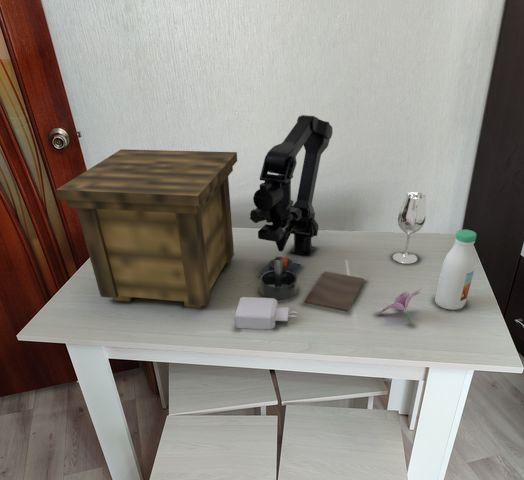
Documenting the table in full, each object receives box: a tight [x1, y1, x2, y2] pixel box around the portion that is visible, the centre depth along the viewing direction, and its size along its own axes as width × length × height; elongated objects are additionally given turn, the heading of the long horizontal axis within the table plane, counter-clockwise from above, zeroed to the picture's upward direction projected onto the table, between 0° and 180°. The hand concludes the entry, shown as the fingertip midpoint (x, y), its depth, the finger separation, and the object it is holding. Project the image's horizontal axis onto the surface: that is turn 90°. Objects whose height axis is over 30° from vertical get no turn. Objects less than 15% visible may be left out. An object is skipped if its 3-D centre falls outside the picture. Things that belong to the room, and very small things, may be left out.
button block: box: [260, 258, 301, 276], centre depth 142 cm, size 10×9×3 cm
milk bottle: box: [434, 229, 477, 311], centre depth 120 cm, size 8×8×20 cm
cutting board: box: [303, 271, 366, 313], centre depth 132 cm, size 18×12×1 cm, turn 156°
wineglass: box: [392, 191, 427, 265], centre depth 141 cm, size 8×8×20 cm
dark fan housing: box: [259, 270, 298, 301], centre depth 132 cm, size 10×10×4 cm
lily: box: [377, 288, 422, 326], centre depth 119 cm, size 12×12×10 cm
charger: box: [234, 296, 298, 330], centre depth 120 cm, size 5×9×15 cm
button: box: [277, 255, 289, 267], centre depth 141 cm, size 4×4×2 cm
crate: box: [55, 148, 238, 309], centre depth 130 cm, size 35×35×33 cm
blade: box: [269, 256, 287, 287], centre depth 130 cm, size 7×7×10 cm
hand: (280, 250), depth 139 cm, fingers closed
